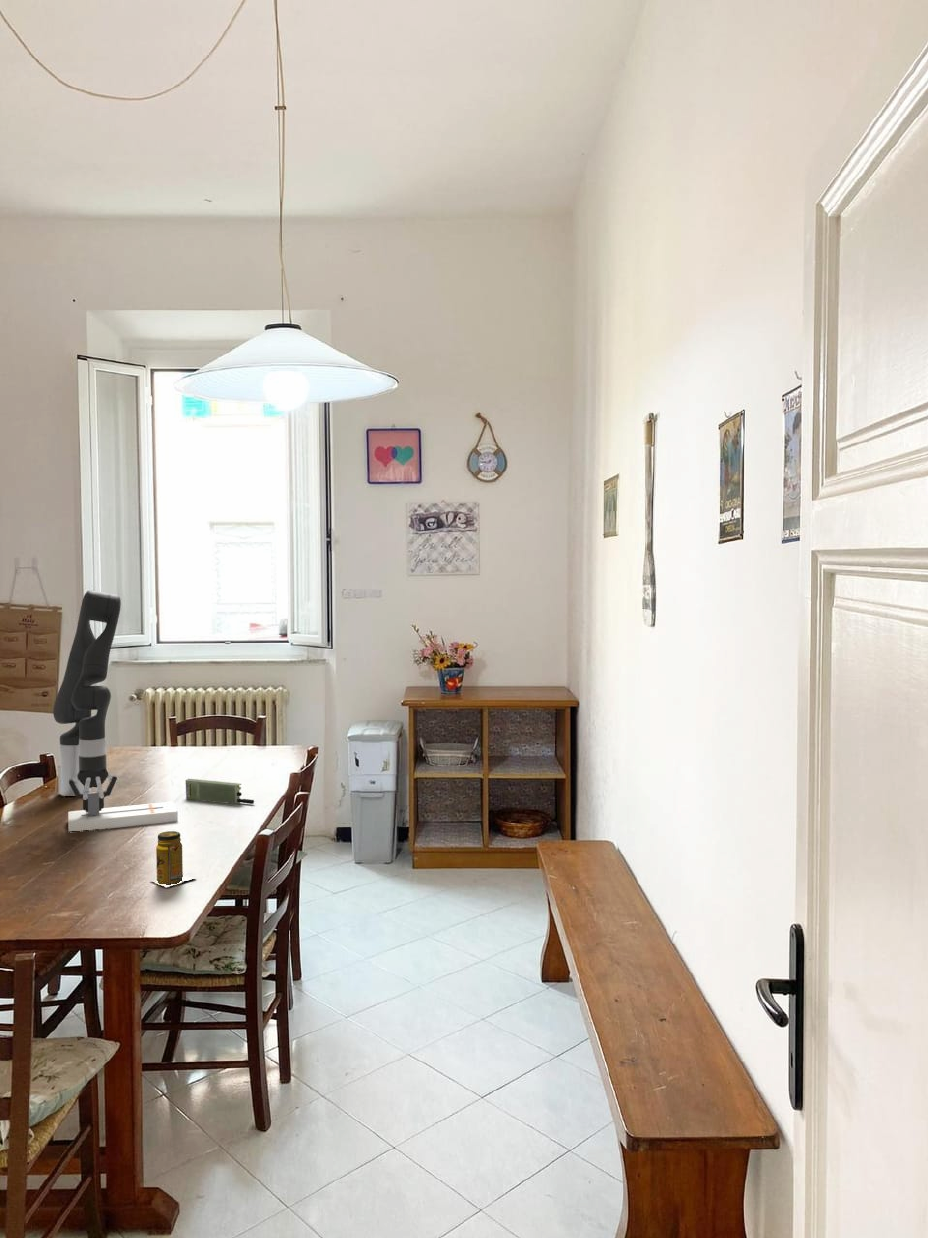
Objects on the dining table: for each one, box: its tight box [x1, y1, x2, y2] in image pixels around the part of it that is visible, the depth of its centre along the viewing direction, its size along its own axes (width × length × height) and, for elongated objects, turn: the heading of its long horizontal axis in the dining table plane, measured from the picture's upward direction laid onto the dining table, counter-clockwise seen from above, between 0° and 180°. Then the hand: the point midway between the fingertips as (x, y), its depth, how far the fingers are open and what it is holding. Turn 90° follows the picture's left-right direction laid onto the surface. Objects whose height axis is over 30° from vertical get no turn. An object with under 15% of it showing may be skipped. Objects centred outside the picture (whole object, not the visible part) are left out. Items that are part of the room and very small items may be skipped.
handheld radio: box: [185, 778, 255, 805], centre depth 293 cm, size 7×3×25 cm
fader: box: [87, 790, 99, 816], centre depth 266 cm, size 3×5×6 cm, turn 24°
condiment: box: [155, 830, 184, 885], centre depth 220 cm, size 7×8×12 cm
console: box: [67, 801, 179, 832], centre depth 270 cm, size 30×12×3 cm, turn 114°
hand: (93, 810), depth 266 cm, fingers closed on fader, 3 cm apart
